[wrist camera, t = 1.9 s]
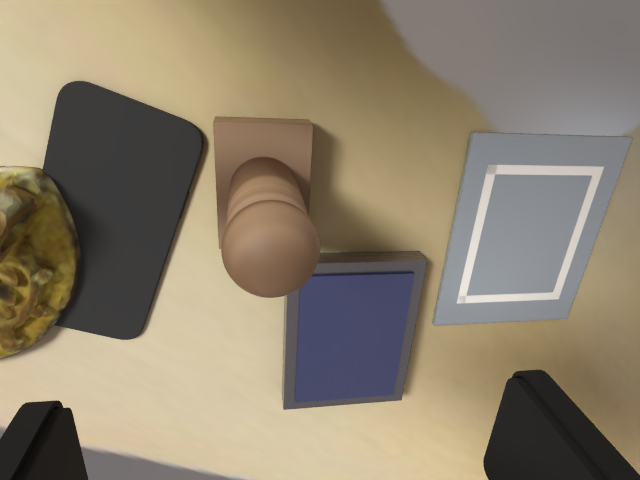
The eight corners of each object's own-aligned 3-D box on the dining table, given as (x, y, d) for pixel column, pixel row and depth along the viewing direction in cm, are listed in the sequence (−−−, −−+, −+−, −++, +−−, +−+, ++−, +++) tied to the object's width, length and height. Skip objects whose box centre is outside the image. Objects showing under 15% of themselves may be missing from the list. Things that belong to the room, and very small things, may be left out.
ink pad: (285, 253, 27) (288, 265, 26) (419, 251, 29) (428, 262, 27) (282, 395, 32) (283, 411, 31) (395, 386, 34) (402, 402, 32)
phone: (12, 316, 26) (60, 72, 21) (18, 308, 27) (66, 71, 22) (138, 344, 28) (209, 130, 23) (141, 336, 29) (210, 127, 24)
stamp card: (471, 131, 26) (474, 133, 26) (628, 136, 28) (633, 137, 27) (432, 323, 32) (434, 326, 31) (564, 316, 34) (567, 319, 33)
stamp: (216, 114, 23) (193, 174, 13) (307, 117, 24) (352, 176, 14) (221, 232, 26) (205, 355, 16) (302, 231, 27) (336, 348, 17)
